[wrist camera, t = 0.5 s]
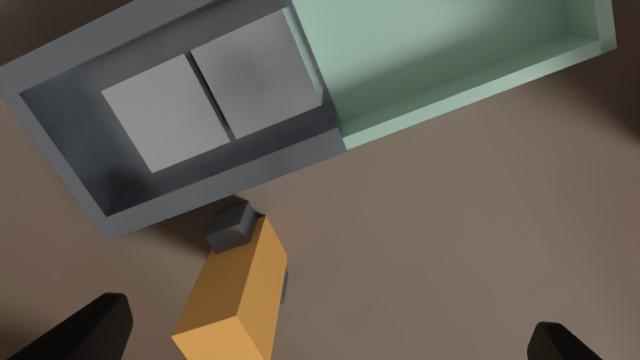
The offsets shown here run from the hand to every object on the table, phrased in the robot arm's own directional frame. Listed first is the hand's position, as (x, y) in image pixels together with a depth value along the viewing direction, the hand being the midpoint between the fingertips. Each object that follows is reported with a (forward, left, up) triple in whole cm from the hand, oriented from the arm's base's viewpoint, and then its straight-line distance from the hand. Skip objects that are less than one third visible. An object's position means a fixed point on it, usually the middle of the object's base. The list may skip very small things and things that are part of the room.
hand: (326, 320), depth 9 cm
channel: (-6, +4, -14) cm, 15 cm away
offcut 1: (-6, +4, -13) cm, 15 cm away
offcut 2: (-1, +4, -13) cm, 14 cm away
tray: (+7, +4, -14) cm, 16 cm away
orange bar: (-7, -5, -14) cm, 16 cm away
